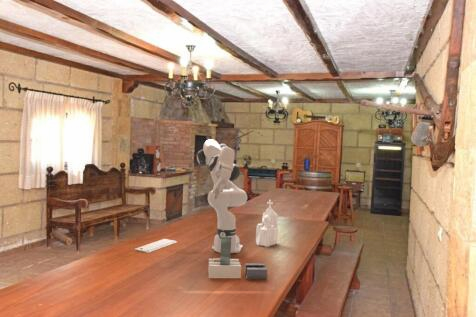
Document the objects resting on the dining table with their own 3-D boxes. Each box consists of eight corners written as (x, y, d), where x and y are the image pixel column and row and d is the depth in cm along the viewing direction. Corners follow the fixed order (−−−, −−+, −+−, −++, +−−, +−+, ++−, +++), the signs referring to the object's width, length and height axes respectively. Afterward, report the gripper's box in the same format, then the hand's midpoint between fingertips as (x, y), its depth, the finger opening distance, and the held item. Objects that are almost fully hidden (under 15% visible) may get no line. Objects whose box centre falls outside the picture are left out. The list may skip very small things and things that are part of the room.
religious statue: (252, 245, 276) (254, 201, 274) (260, 240, 288) (261, 198, 286) (276, 249, 269) (278, 203, 267) (283, 244, 281) (285, 200, 279)
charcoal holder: (244, 274, 215) (245, 263, 215) (263, 274, 216) (263, 263, 216) (247, 281, 205) (247, 269, 204) (266, 281, 206) (267, 269, 206)
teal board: (219, 275, 210) (221, 236, 209) (229, 275, 210) (231, 236, 209) (219, 276, 208) (221, 237, 207) (229, 276, 208) (231, 237, 207)
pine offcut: (213, 271, 215) (214, 258, 215) (223, 271, 216) (223, 258, 215) (213, 273, 212) (214, 259, 212) (223, 273, 213) (224, 259, 212)
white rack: (208, 271, 218) (208, 258, 217) (238, 271, 219) (238, 258, 219) (209, 279, 205) (209, 266, 204) (240, 280, 206) (241, 266, 206)
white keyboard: (179, 243, 274) (164, 240, 279) (179, 239, 274) (164, 236, 279) (149, 254, 246) (134, 251, 251) (150, 249, 246) (134, 246, 251)
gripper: (212, 178, 231) (207, 200, 224) (223, 162, 214) (218, 185, 207) (222, 182, 232) (218, 204, 225) (234, 166, 215) (229, 189, 208)
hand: (218, 195), depth 216 cm, fingers open, 8 cm apart
